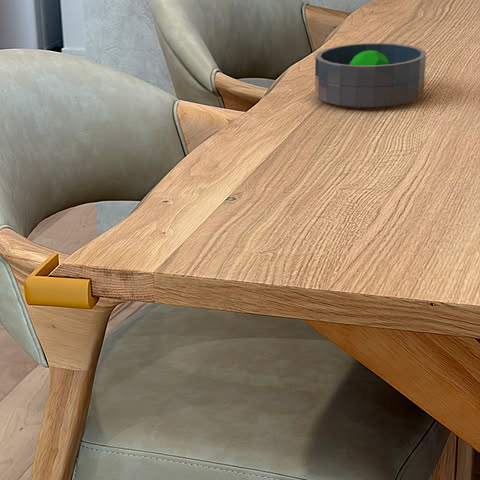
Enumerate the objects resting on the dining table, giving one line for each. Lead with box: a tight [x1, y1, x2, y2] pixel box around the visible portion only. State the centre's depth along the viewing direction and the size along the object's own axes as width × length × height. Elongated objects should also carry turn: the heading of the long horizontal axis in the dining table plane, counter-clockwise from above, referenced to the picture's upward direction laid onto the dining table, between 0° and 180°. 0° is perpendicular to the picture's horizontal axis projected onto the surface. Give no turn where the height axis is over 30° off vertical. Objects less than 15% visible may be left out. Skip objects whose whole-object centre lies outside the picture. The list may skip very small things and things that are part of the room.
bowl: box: [314, 42, 427, 110], centre depth 106 cm, size 12×12×5 cm
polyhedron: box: [349, 50, 390, 66], centre depth 106 cm, size 5×5×5 cm
